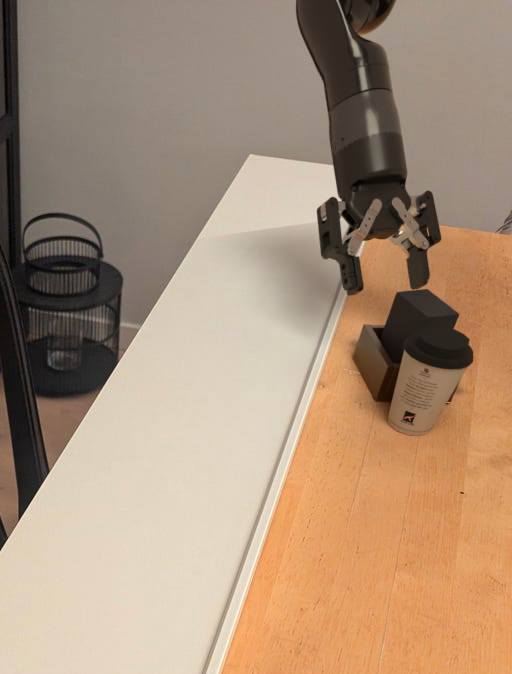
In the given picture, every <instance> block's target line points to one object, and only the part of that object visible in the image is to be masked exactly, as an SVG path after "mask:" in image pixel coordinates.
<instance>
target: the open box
mask: <svg viewBox="0 0 512 674" xmlns="http://www.w3.org/2000/svg"><path fill="white" fill-rule="evenodd" d="M384 327H385V324H367V323H364V324H363V325H362V328H361V331H360V334H359V336H358V340H357V342H356V345H355V349H354V352H353V355H352V360H353V362H354V364H355V365H356V367H357V369H358V371H359V373H360V375H361V378H362V379H363V381H364V383H365V384H366V386H367V388H368V390H369V392H370V395H371V396H372V398H373V400H374V401H375V402H380V403H381V402H384V403H392V399H393V395H394V391H395V387H396V382H397V378H398V374H399V370H400V366H401V364H396V363H392V361H391V359H390V358H389V356H388V354H387V352H386V351H385V349H384V347H383V346H382V344H381V342H380V338H381V335H382V332H383V329H384ZM461 379H462V378H461ZM461 379H460V381H459V382H458V384H457V386H456V388H455V389H454V391H453V393H452V394H451V396H450V398H449V399H448V401H447V402H452V401H453V398H454V396H455V394H456V391H457V389H458V387H459V385H460V382H461Z"/></svg>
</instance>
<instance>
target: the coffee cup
mask: <svg viewBox="0 0 512 674" xmlns="http://www.w3.org/2000/svg"><path fill="white" fill-rule="evenodd" d="M403 347H404V354H403V358H402V362H401V366H400V370H399V374H398V378H397V382H396V387H395V391H394V395H393V399H392V402H390V408H389V410H388V411H389V412H388V416H387V419H386V420H387V424H388V425H389V426H390V427H391V428H392V429H393V430H395V431H397V432H399V433H401V434H402V435H403V434H404V435H408V436H413V437H414V436H416V437H420V436H425V435H428V434H429V433H430V432H431V430H432V429H433V427H434V425H435V423H436V422H437V420H438V418H439V416H440V415H441V413H442V411H443V409H444V408H445V406H446V405H447V404H446V403H447V401H448V399H449V398H450V396H451V394H452V393H453V391H454V389H455V388H456V386H457V384H458V382H459V381H460V382H461V380H460V379H462V377H464V374H465V373H466V371H467V369H468V368H469V367H470V366H471V365H472V364H473V363H474V350H473V348H472V347H471V346H470V338H469V337H468V336H467V335H466V334H464V333H463V332H461V331H459V330H457V329H455V328H454V329H450V328H443V327H427V328H424V329H422V330H421V331H420V332H416V333H413V334H412V335H411V336H409V337H408V338H407V339H406V341H405V342H404V345H403ZM460 382H459V383H460ZM458 385H459V384H458Z"/></svg>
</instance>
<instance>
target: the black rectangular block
mask: <svg viewBox="0 0 512 674" xmlns="http://www.w3.org/2000/svg"><path fill="white" fill-rule="evenodd" d="M393 298H394V299H393V301H392V305H391V307H390V310H389V313H388V315H387V318H386V320H385V323H384V325H385V327H384V329H383V332H382V335H381V338H380V342H381V344H382V346H383V347H384V349H385V351H386V352H387V354H388V356H389V358H390V359H391V361H392V363H396V364H401V362H402V358H403V354H404V347H403V345H404V342H405V341H406V339H407V338H408V337H409V336H411V335H412V334H413V333H416V332H420V331H421V330H422V329H424V328H427V327H443V328H450V329H455V327H456V324H457V322H458V319H459V317H460V315H461V314H460V313H459V312H458V311H457V310H455V309H454V308H453V307H452V306H451V305H449V304H447V303H446V302H445V301H444V300H443V299H441V298H440V297H438V295H436V294H434V293H433V292H432V291H431V290H429V289H428V288H423V289H422V288H421V289H414V290H412V289H411V290H403V291H396V293H395V295H394V297H393Z"/></svg>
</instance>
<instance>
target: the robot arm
mask: <svg viewBox="0 0 512 674" xmlns="http://www.w3.org/2000/svg"><path fill="white" fill-rule="evenodd" d="M396 3H397V0H295V17H296V23H297V26H298V30H299V33H300V35H301V38H302V40H303V43H304V44H305V45H304V46H305V47H306V49H307V51H308V54H309V55H310V57H311V60H312V62H313V64H314V67H315V69H316V71H317V73H318V75H319V77H320V79H321V81H322V85H323V91H324V99H325V105H326V112H327V116H328V140H329V146H330V152H331V158H332V166H333V172H334V179H335V186H336V193H337V196H338V198H339V200H338V199H337V197H335V196H331V197H329V198H328V199H326V200H325V201H324V202H323V203H322V204H321V205H320V206H318V207H317V208H316V219H317V220H316V221H317V228H318V238H319V248H320V257H321V258H322V260H329V259H330V260H334V261H336V263H337V264H338V266H339V273H340V279H341V285H342V288H343V290H344V292H346V294H347V295H346V296H349V297H350V296H351V297H352V296H356V295H358V294H359V293H362V292H363V290H364V287H365V286H364V278H363V272H362V266H361V259H360V256H356V255H357V254H358V252H359V250H360V248H361V245H362V243H363V242H369V241H371V240H373V239H377V240H387V239H388V240H390V242H391V243H392V244H393V245H395V246H398V247H399V248H400V249H401V250H402V251H403V252H404V253H405V254H406V256H407V258H406V259H405V261H406V267H407V275H408V279H409V287H410V290H411V291H412V290H420V289H422V288H423V287H425V286H426V285H428V282H429V280H430V277H431V271H430V265H429V259H428V250H430V249H431V248H432V247H434V246H435V245H437V244H439V243H440V242H441V241H442V233H441V228H440V223H439V219H438V218H439V217H438V213H437V208H436V204H435V198H434V195H433V192H432V191H431V190H426V191H424V192H422V193H421V194H417V195H411V196H410V194H409V193H408V191H407V187H406V183H407V178H408V167H407V160H406V153H405V148H404V146H405V145H404V140H403V133H402V125H401V121H400V120H401V119H400V114H399V110H398V107H397V104H396V101H395V96H394V90H393V89H394V88H393V84H392V76H391V69H390V65H389V64H390V63H389V58H388V55H387V52H386V49H385V48H384V46H383V45H382V44H380V43H379V42H376V41H373V40H370V39H368V38H365V37H363V36H366V35H368V34H370V33H372V32H374V31H375V30H377V29H378V28H379V27H381V26H382V25H383V24H384V23H385V21H386V20H387V19H388V18H389V16H390V15H391V13H392V11H393V9H394V7H395V4H396ZM341 218H342V219H343V220H344V222H346V224H347V225H348V227H347V228H346V231H345V233H344V235H343V237H342V226H341ZM402 226H403V227H404V229H403V230H401V228H402Z"/></svg>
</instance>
